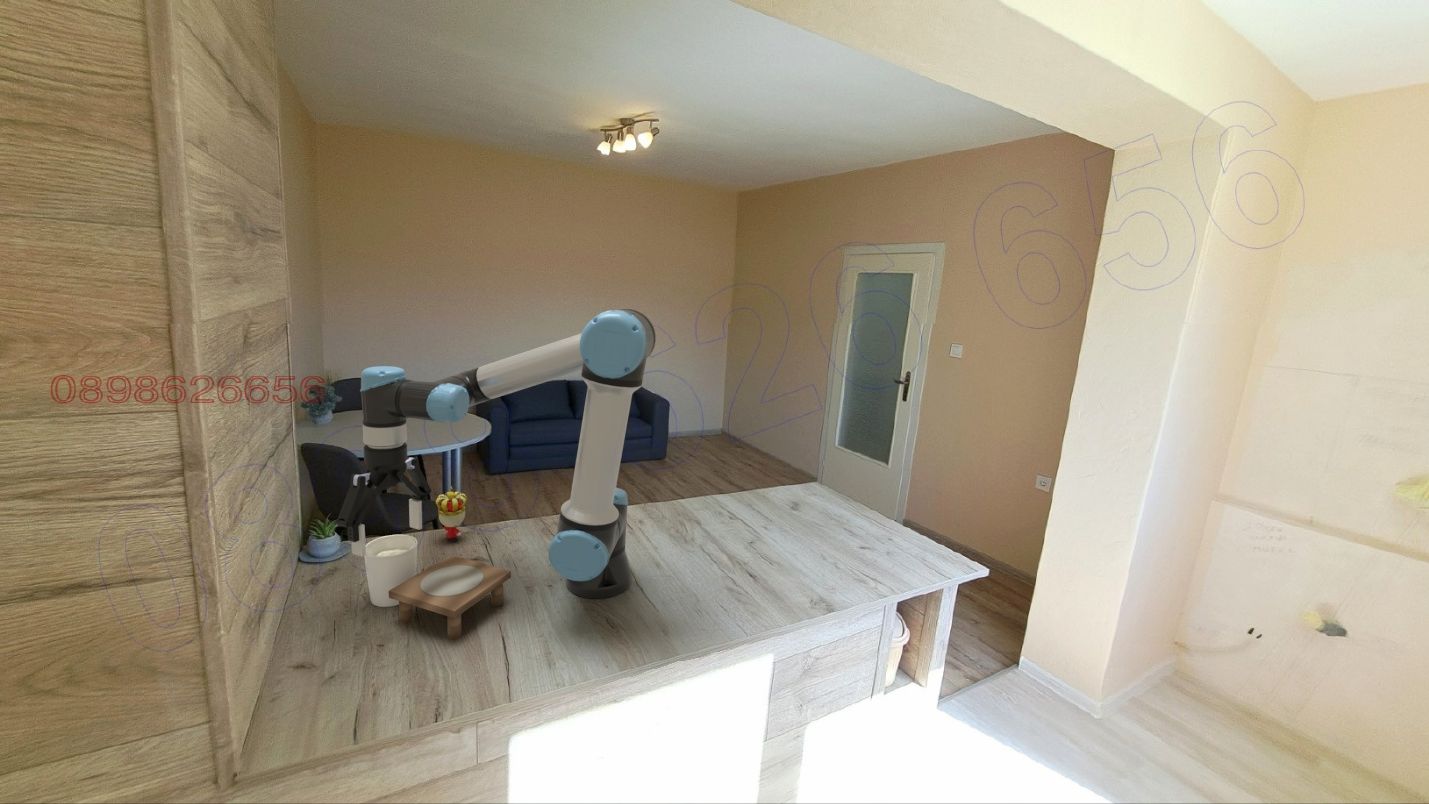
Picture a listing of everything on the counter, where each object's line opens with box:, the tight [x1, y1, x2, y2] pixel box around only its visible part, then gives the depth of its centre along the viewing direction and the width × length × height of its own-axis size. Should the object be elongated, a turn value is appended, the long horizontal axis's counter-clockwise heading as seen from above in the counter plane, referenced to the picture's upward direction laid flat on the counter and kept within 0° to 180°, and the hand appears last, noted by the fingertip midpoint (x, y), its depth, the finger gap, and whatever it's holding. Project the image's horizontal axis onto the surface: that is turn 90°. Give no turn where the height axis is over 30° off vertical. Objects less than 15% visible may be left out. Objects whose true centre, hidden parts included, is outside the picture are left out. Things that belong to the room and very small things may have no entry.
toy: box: [435, 485, 468, 543], centre depth 140 cm, size 7×7×15 cm
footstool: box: [389, 554, 512, 640], centre depth 112 cm, size 16×16×7 cm
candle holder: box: [363, 534, 418, 608], centre depth 114 cm, size 10×10×12 cm
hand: (389, 540), depth 113 cm, fingers open, 13 cm apart
